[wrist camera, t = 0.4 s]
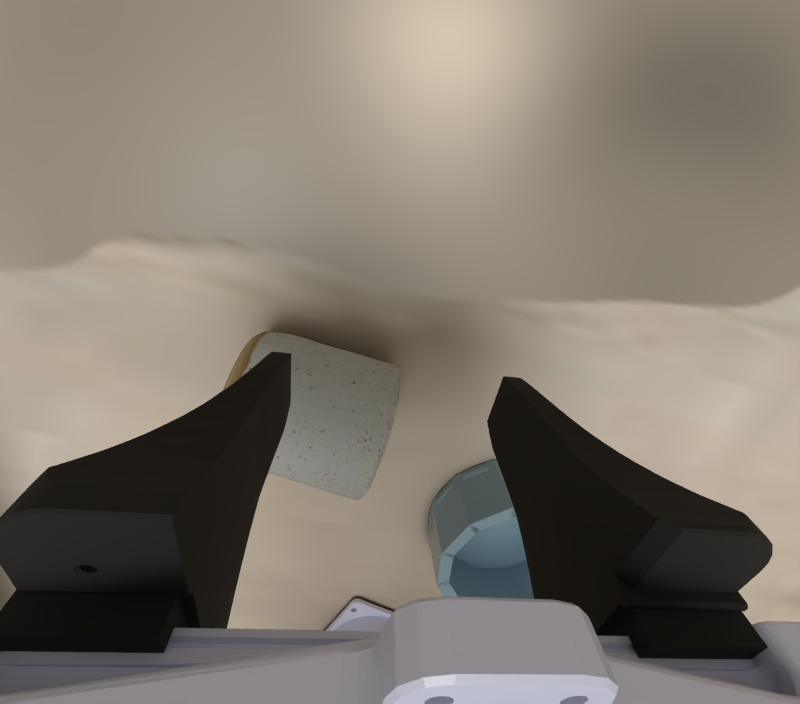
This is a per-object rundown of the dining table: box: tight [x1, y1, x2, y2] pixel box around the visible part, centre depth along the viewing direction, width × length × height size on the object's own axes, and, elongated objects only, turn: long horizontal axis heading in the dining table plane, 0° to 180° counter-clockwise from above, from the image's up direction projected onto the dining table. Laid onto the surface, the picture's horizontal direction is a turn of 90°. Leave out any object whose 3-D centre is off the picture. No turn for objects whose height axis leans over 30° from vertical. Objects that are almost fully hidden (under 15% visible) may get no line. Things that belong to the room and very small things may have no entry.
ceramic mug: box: [224, 332, 400, 500], centre depth 21 cm, size 11×8×8 cm
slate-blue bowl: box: [428, 460, 534, 599], centre depth 28 cm, size 11×11×4 cm
